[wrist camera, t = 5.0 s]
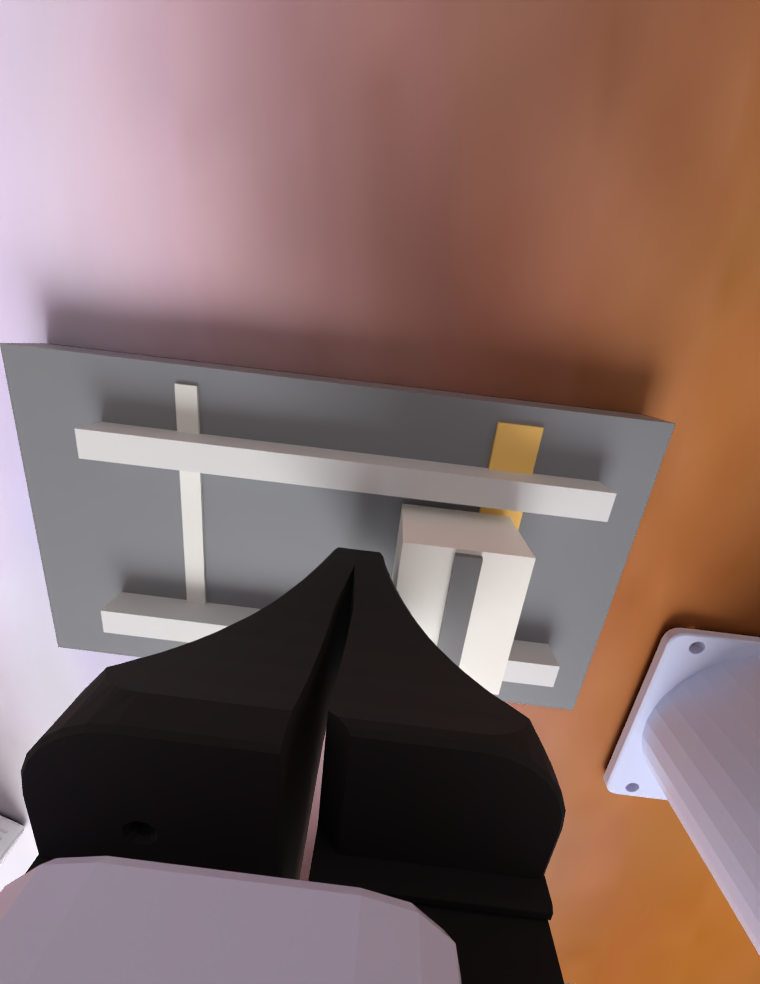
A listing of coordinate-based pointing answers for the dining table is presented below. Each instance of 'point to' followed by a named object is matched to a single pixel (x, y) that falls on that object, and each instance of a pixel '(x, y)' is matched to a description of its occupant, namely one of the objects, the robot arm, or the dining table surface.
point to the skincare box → (8, 836)
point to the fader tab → (464, 584)
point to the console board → (308, 495)
